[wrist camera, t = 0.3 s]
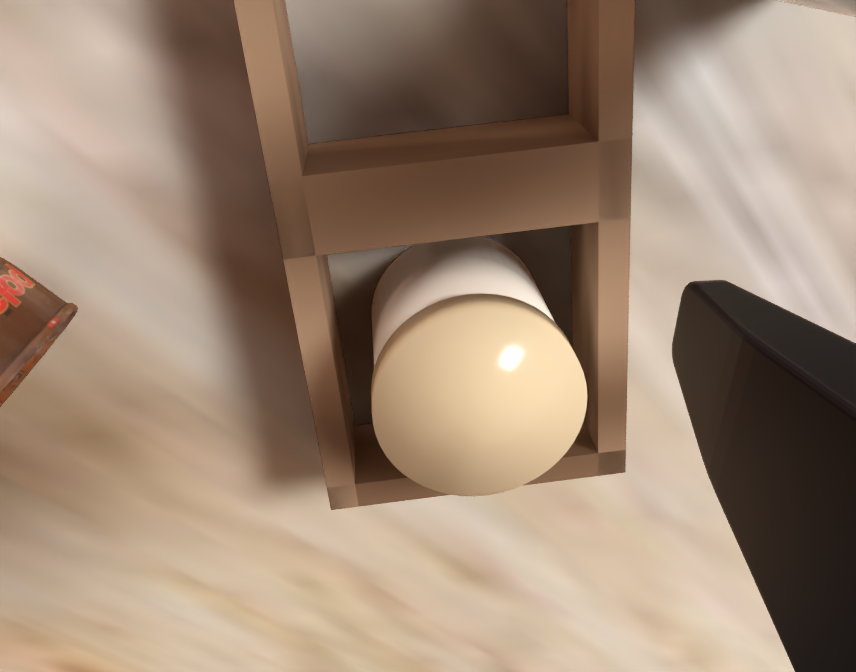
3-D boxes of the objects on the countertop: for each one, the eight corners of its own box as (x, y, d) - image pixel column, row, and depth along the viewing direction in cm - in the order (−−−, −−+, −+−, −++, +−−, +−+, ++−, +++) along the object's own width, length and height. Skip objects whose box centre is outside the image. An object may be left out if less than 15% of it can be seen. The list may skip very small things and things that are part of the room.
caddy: (597, 416, 26) (625, 472, 24) (333, 449, 26) (331, 509, 24) (598, -241, 18) (639, -267, 16) (215, -201, 18) (191, -221, 15)
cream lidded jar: (543, 376, 26) (588, 482, 21) (379, 397, 26) (385, 508, 21) (538, 219, 23) (586, 298, 19) (356, 241, 23) (358, 326, 18)
